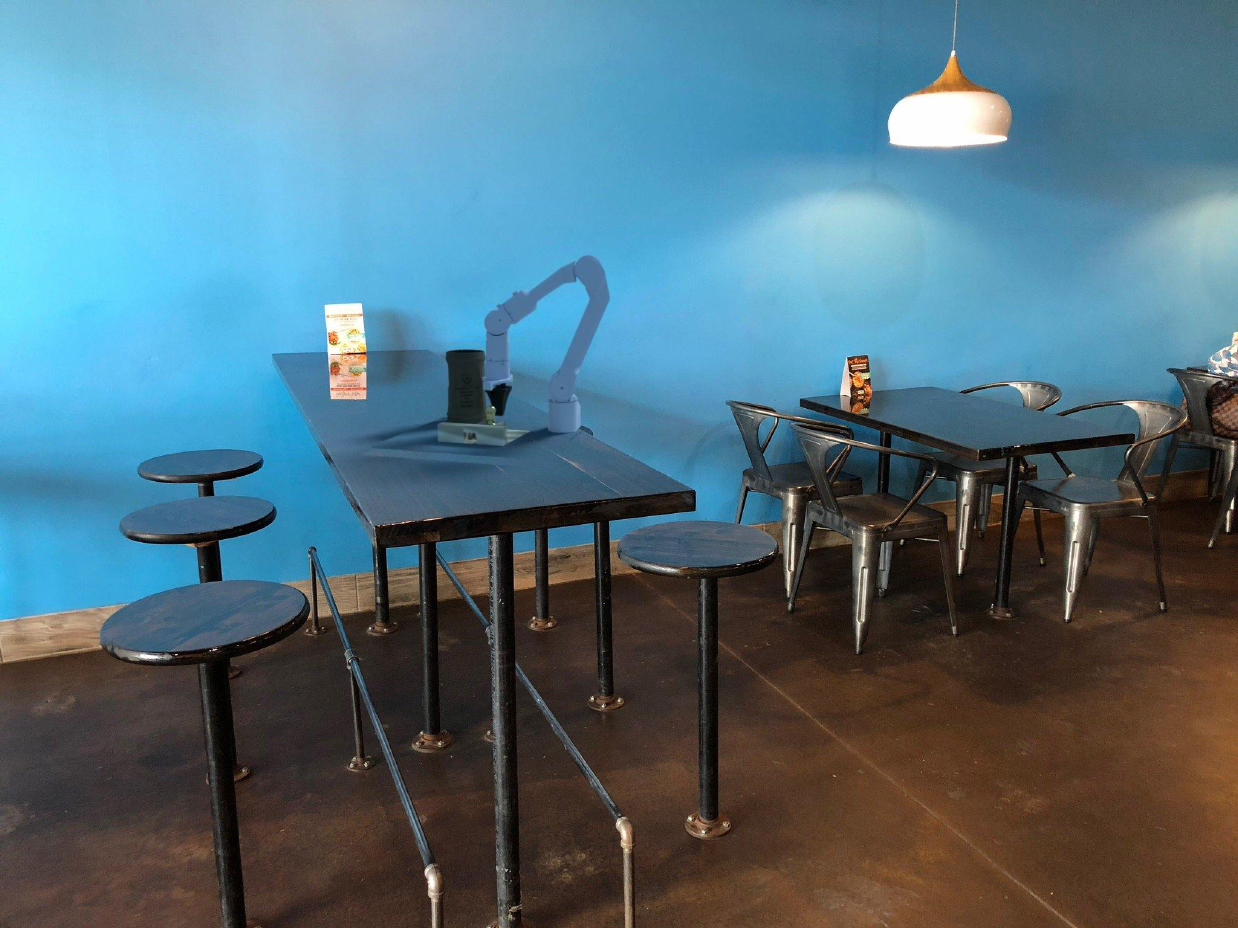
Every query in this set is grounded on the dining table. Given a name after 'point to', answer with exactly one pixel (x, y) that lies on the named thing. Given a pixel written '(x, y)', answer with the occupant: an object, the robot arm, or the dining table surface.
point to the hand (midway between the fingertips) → (499, 415)
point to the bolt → (490, 416)
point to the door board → (484, 433)
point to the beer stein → (466, 386)
